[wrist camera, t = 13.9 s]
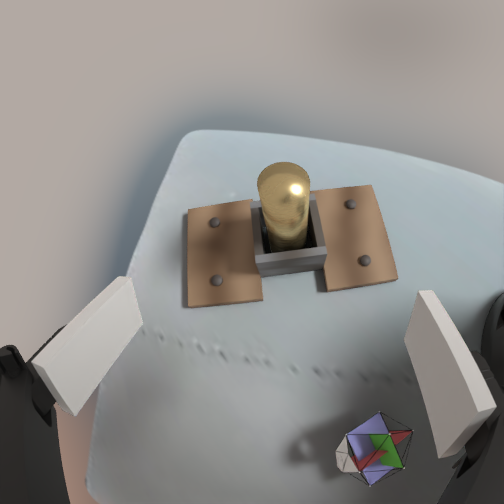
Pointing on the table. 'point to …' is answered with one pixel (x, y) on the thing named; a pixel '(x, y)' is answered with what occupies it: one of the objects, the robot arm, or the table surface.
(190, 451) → the table surface
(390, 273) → the brown flat wooden board
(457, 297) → the table surface
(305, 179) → the gold knob
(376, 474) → the geometric puzzle
